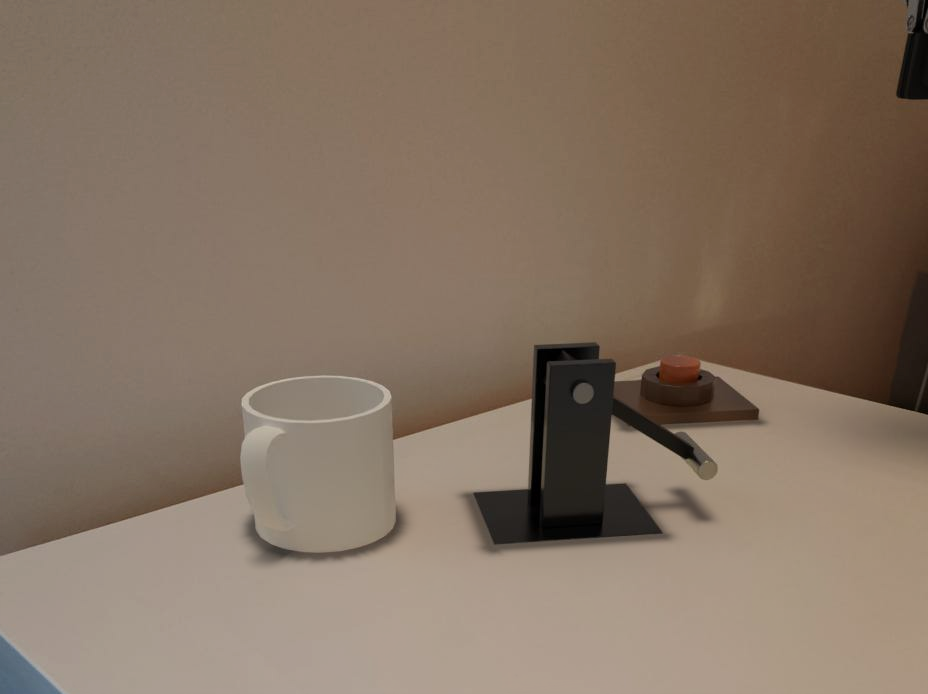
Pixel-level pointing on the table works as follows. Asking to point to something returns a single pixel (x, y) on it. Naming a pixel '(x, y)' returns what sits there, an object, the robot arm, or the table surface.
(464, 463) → the table surface
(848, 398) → the table surface
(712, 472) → the lever
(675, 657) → the table surface
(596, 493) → the bracket
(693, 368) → the button
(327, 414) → the mug
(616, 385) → the button box
